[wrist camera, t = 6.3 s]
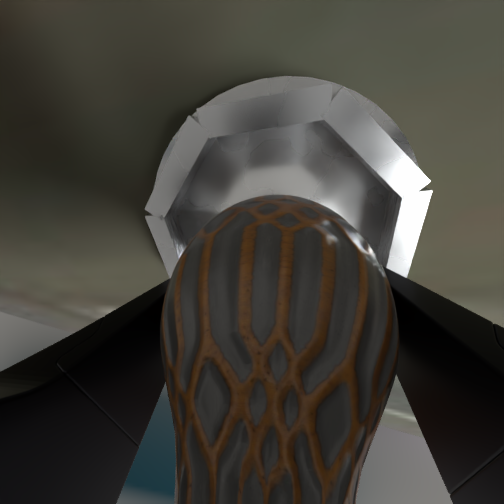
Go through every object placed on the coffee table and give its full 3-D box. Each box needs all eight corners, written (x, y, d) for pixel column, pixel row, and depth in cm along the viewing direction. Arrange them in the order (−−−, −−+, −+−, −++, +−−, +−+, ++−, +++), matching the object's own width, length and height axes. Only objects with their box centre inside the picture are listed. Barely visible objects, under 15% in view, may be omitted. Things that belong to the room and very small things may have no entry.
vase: (327, 308, 12) (400, 615, 4) (212, 289, 12) (98, 533, 5) (374, 188, 8) (1306, 758, 1) (209, 168, 9) (-244, 379, 1)
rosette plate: (454, 45, 7) (513, 15, 5) (383, 317, 14) (399, 346, 12) (121, 112, 10) (84, 107, 8) (197, 315, 17) (186, 338, 15)
